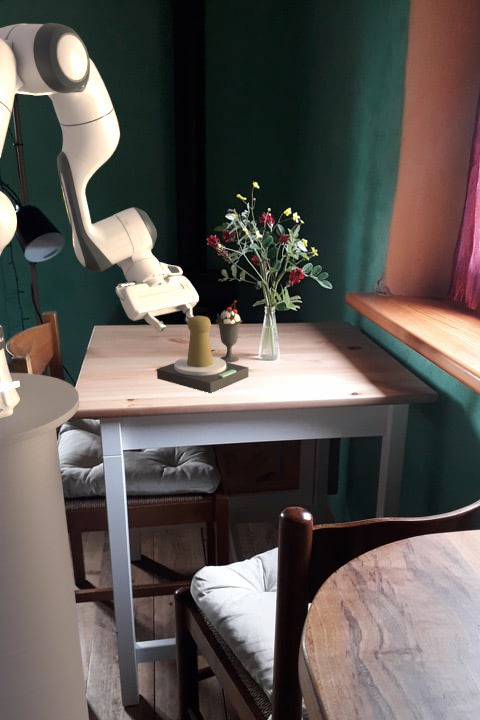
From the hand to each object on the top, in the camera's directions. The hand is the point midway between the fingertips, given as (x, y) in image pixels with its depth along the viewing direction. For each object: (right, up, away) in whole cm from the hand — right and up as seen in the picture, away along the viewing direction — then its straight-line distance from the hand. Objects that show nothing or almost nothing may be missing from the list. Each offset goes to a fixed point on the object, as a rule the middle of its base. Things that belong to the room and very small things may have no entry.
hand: (177, 326), depth 145 cm
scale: (+6, -12, -1) cm, 14 cm away
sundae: (+11, -7, +13) cm, 19 cm away
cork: (+6, -9, -2) cm, 11 cm away
